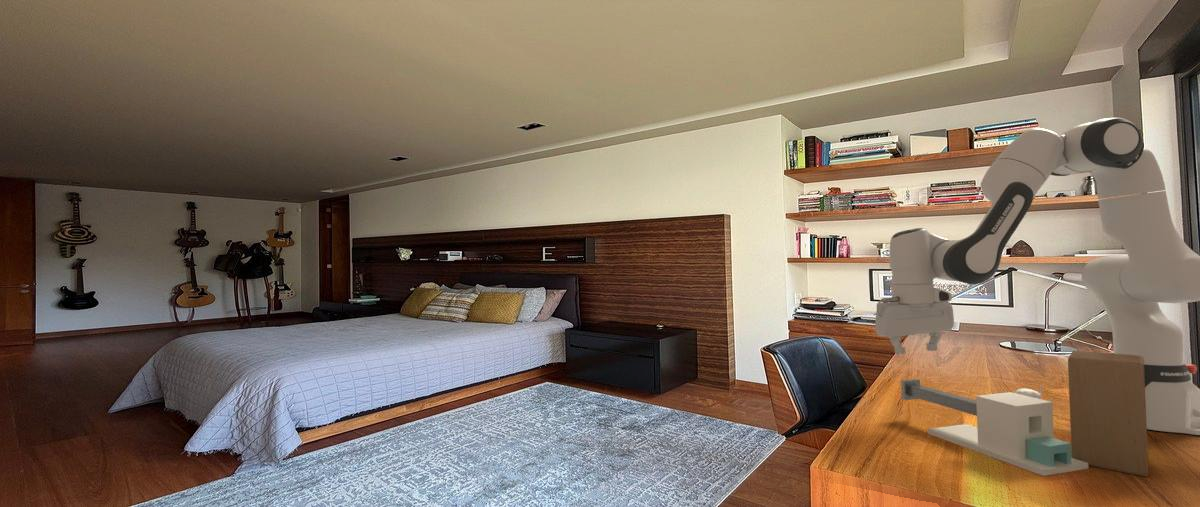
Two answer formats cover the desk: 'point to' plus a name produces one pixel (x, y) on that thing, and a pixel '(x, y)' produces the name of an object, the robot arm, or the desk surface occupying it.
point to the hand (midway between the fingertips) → (916, 352)
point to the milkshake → (1029, 392)
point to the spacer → (1048, 451)
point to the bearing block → (1008, 431)
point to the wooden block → (1108, 411)
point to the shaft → (937, 396)
